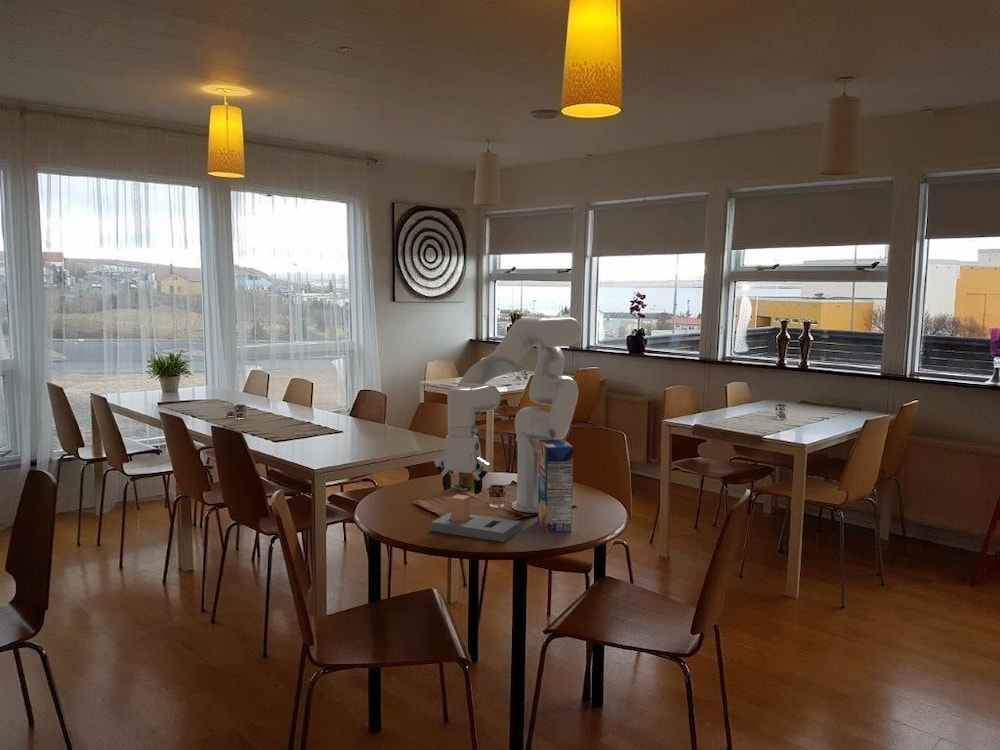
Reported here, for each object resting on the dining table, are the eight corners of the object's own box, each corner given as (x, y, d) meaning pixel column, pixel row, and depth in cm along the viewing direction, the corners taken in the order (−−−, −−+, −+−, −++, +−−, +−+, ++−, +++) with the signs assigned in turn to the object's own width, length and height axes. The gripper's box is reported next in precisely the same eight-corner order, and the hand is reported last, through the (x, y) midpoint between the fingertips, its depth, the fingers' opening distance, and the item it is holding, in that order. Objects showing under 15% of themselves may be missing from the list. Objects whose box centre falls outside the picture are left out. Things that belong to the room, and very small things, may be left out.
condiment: (481, 486, 264) (481, 452, 263) (463, 490, 258) (463, 455, 257) (467, 483, 269) (467, 449, 268) (449, 487, 263) (449, 452, 262)
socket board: (451, 519, 223) (451, 511, 223) (520, 530, 214) (520, 521, 214) (431, 530, 212) (431, 522, 212) (503, 541, 203) (503, 532, 203)
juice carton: (537, 520, 224) (539, 439, 221) (562, 519, 225) (564, 439, 222) (545, 532, 212) (547, 447, 210) (571, 532, 213) (573, 447, 211)
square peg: (457, 525, 218) (457, 494, 217) (469, 527, 216) (470, 496, 215) (450, 529, 214) (450, 497, 213) (463, 531, 212) (463, 499, 212)
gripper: (495, 431, 212) (495, 491, 214) (440, 426, 220) (441, 485, 222) (483, 436, 206) (484, 498, 208) (427, 431, 213) (429, 491, 215)
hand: (462, 491), depth 215 cm, fingers open, 9 cm apart
